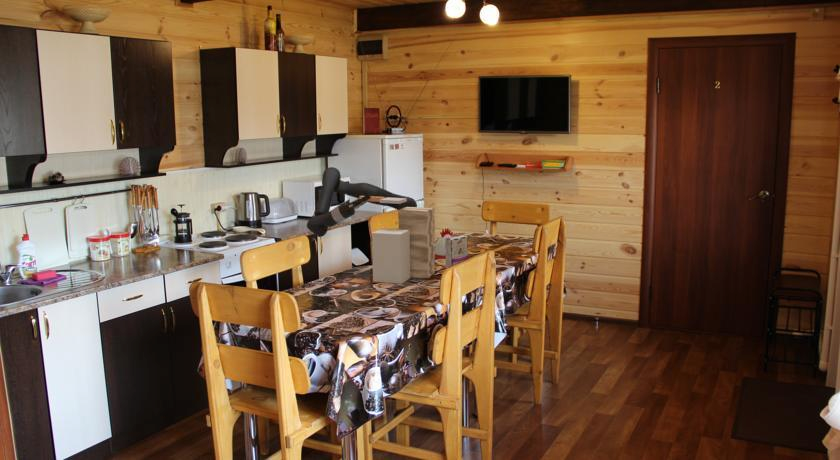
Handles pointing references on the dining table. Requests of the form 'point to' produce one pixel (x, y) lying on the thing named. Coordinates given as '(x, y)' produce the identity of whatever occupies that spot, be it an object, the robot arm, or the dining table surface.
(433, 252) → the tall stand
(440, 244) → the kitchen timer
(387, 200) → the turner
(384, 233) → the grey upright block
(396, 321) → the dining table surface
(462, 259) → the candy bar box
